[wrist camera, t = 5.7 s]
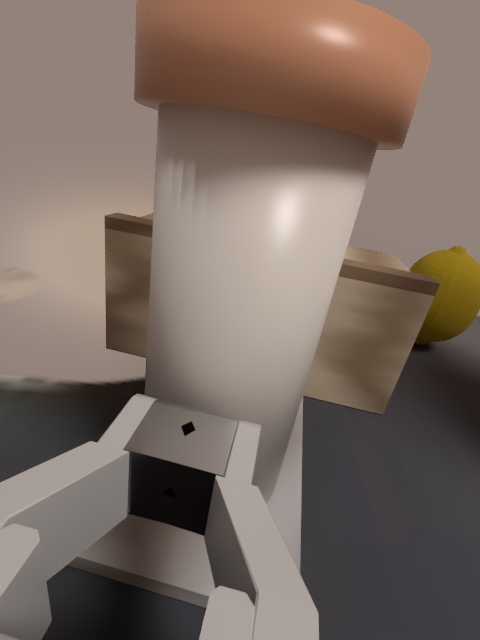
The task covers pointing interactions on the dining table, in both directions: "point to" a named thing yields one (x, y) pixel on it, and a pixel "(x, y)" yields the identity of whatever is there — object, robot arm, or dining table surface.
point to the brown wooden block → (323, 383)
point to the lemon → (449, 293)
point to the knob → (260, 189)
